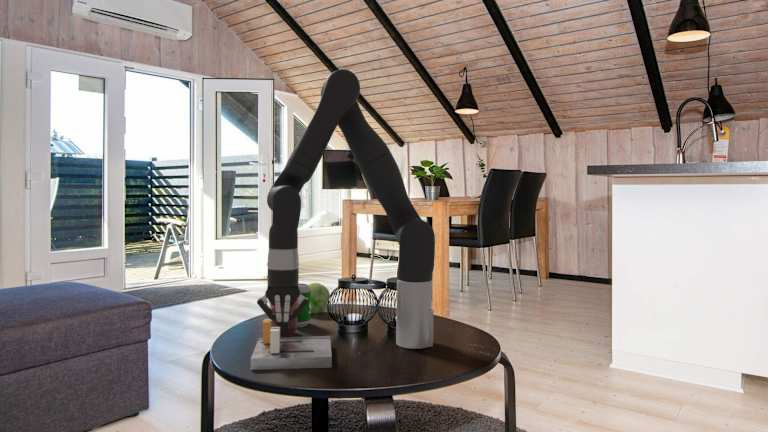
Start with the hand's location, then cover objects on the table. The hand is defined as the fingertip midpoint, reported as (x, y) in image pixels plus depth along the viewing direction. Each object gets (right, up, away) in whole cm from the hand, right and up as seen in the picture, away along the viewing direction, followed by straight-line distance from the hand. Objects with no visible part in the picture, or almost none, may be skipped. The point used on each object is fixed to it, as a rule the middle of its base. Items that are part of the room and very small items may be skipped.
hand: (282, 335), depth 128 cm
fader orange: (-4, -1, 0) cm, 4 cm away
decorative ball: (+2, -3, +43) cm, 43 cm away
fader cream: (0, -2, -8) cm, 8 cm away
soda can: (-1, -3, +27) cm, 28 cm away
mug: (-3, -4, +15) cm, 16 cm away
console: (+3, -4, -3) cm, 6 cm away
